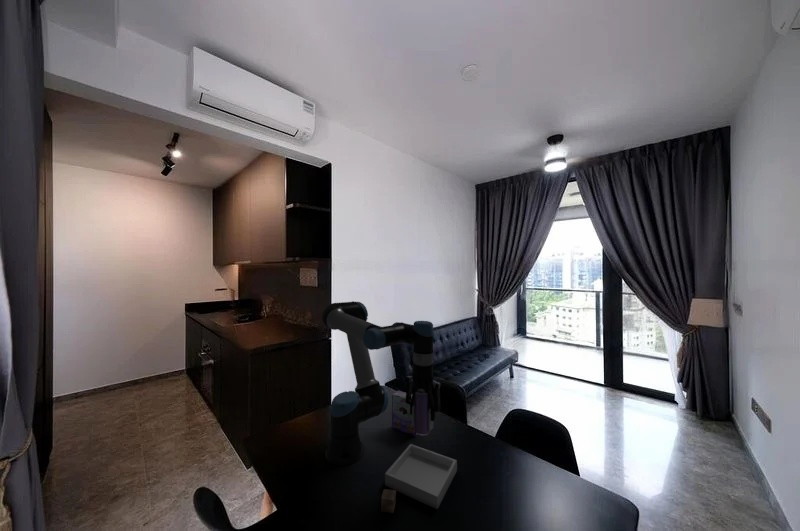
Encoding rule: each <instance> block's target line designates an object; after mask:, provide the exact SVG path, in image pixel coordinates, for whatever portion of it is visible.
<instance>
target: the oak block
mask: <svg viewBox="0 0 800 531" xmlns="http://www.w3.org/2000/svg"><path fill="white" fill-rule="evenodd" d="M380 502H381V503H380V504H381V505H380V507H381V508H380V512H384V513H390V514H394V512H395V507H396V504H397V491H396V490H394V489H386V488H384V489H383V491H382V495H381V498H380Z"/></svg>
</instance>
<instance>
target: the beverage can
mask: <svg viewBox="0 0 800 531" xmlns="http://www.w3.org/2000/svg"><path fill="white" fill-rule="evenodd" d="M429 411H430V407H429V403H428V393H425V390H423V389H419V390H418V391H416V390H415V407H414V430H415V432H416V433H417V434H418V435H419V436H428V435H429V434H430V432H431V431H429V430H428V412H429ZM418 435H417V436H418Z"/></svg>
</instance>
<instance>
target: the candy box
mask: <svg viewBox="0 0 800 531" xmlns="http://www.w3.org/2000/svg"><path fill="white" fill-rule="evenodd" d="M412 395H413V393H412ZM411 398H412V396H411ZM391 428H392V429H394V430H397V431H400V432H403V433H405V434H408V435H411V436H414V437H417V436H418V434H417V433H416V432H415V430H414V426H413V425H412V415H411V414H410V405H409V404H406V391H405V392H404V391H401V390H396V391H395V392H394V393H392V394H391Z"/></svg>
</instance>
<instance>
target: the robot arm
mask: <svg viewBox="0 0 800 531" xmlns="http://www.w3.org/2000/svg"><path fill="white" fill-rule="evenodd" d="M368 317H369V314H368V309H367V307H366V306H365V304H364V303H362V302H361V301H355V300H354V301H353V300H352V301H344V302H343V301H342V302H334V303H333V302H332V303H330V304H328V305H327V306H326V307H324V309H323V310H322V312H321V321H322V323H323V325H324V326H325V327H326V328H328V329H330V330H333V331H335V330H338V331H341V332H342V333H345V334H346V338H347V342H348V347H349V352H350V356H351V362H352V366H353V371H354V376H355V381H356V386H355V388H354V390H349V391H343V392H340V393H338V394H336V395H335V396H334V397H333V398H332V400H331V404H330V410H329V412H330V431H329V434H330V435H329V439H328V442H327V445H326V447H325V459H326V461H327V462H328V463H330V464H332V465H335V466H346V465H351V464H353V463H355V462H357V461H358V460H359V459H360V458H361V456H362V455H363V443H362V441H361V438H360V437H361V436H360V433H359V425H360V424H361V423H364V422H366V421H368V420H370V419H372V418H374V417H378V416H380V415H381V414H383V413H385V412H386V410H387V407H388V405H389V394H388V391H387V389H386V388H385V387H384V386H383V385H381V384H380V381H379V380H377V379H376V376H375V373H374V368H373V364H372V360H371V356H370V355H371V354H370V351H374V350H376V351H377V350H381V349H384V348H388V347H392V346H397V345H401V344H407V345H411V346H412V348H413V349H412V350H413V351H412V353H413V355H412V356H413V357H412V358H413V359H412V362H413V364H412V375H408V376H406V377H405V382H406V387H405V388H406V390H405V393H406V404H409V405H410V414H411V415H412V425H413V426H414V407H415V390H416V391H418V390H419V389H423V390H425V393H428V403H429V407H430V411H429V412H428V430H429V431H430V432H431V431H432V429H434V421H435V420H436V417H437V416H436V413H438V412H439V411H440V410H441V408H442V406H441V404H442V403H441V391H440V390H441V385H442V383H441V382H440V381H436V380H435V378H434V364H433V363H434V336H435V333H434V324H433V322H431V321H428V320H416V321H414V322H413V324H409V323H404V322H402V321H401V322H398V321H397V322H394V323H393V324H391V325H385V326H381V325H377V324H375V323H371V322H369V321H368ZM413 383H414V388H413ZM432 385H433V388H434V390H433V391H432ZM433 392H434V393H433ZM412 394H413V395H412ZM411 396H412V398H411Z"/></svg>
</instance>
